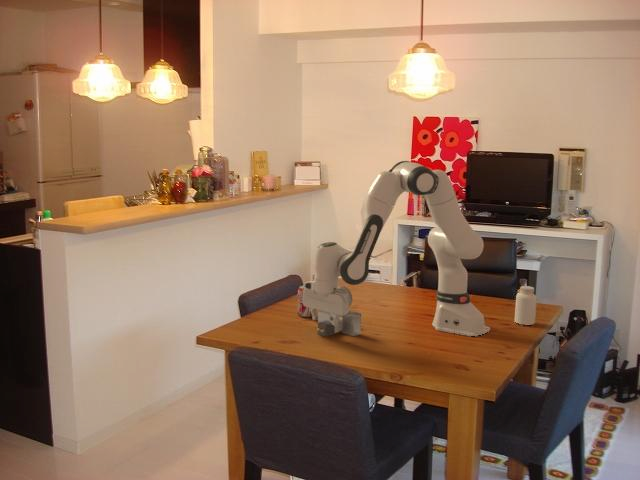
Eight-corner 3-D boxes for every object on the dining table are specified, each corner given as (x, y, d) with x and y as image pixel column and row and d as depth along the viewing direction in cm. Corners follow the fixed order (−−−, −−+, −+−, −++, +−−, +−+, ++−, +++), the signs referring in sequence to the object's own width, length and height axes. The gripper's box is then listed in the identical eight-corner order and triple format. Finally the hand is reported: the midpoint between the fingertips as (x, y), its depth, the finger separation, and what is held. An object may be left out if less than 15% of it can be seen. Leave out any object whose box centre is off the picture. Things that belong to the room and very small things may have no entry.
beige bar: (348, 324, 283) (348, 313, 282) (356, 327, 280) (356, 315, 279) (315, 335, 269) (315, 323, 268) (323, 337, 266) (323, 325, 265)
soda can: (312, 318, 291) (313, 289, 289) (295, 317, 292) (295, 288, 290) (316, 313, 297) (316, 285, 295) (299, 312, 299) (299, 284, 297)
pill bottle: (538, 323, 290) (541, 287, 287) (528, 327, 284) (531, 290, 282) (520, 319, 295) (522, 284, 293) (510, 323, 289) (513, 287, 287)
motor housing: (324, 324, 283) (325, 282, 280) (360, 334, 271) (362, 290, 268) (318, 326, 280) (318, 283, 277) (353, 336, 268) (355, 291, 265)
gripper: (353, 289, 261) (351, 326, 264) (311, 280, 275) (310, 315, 277) (341, 292, 257) (340, 330, 259) (300, 282, 270) (299, 318, 272)
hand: (324, 322), depth 268 cm, fingers open, 8 cm apart
